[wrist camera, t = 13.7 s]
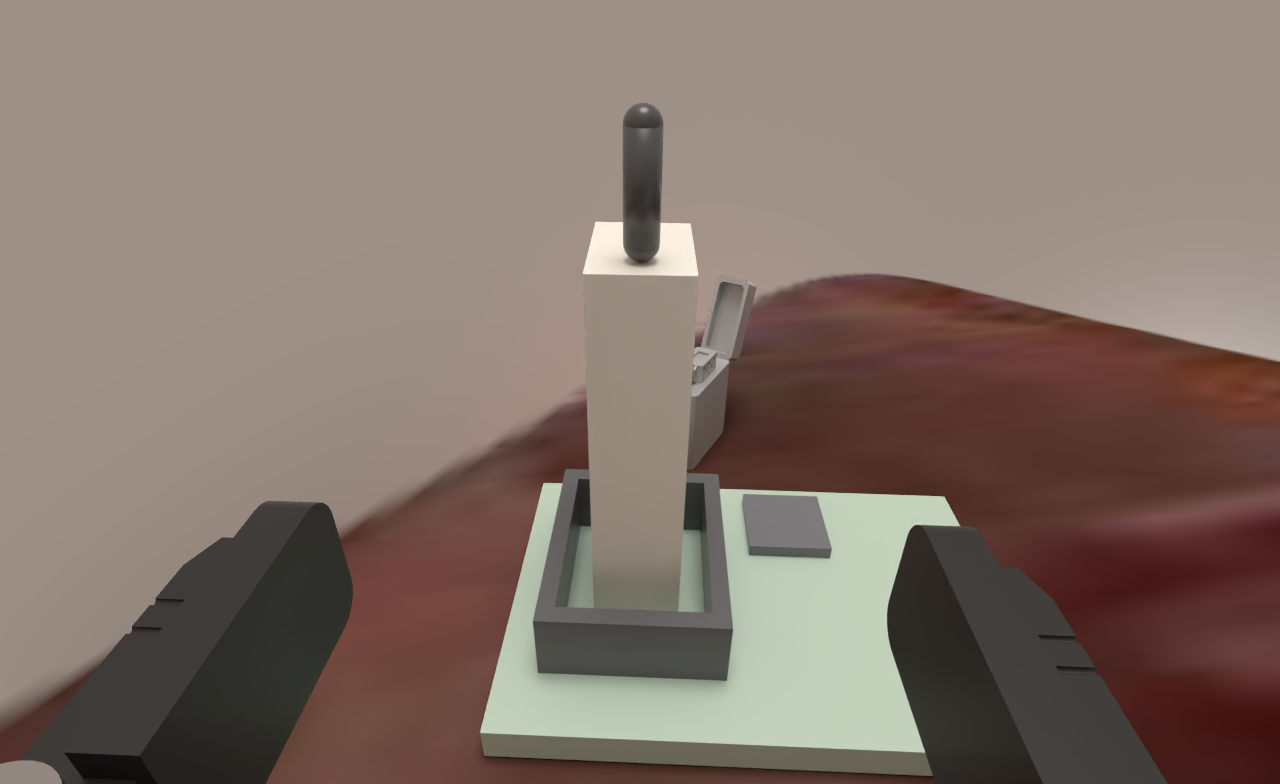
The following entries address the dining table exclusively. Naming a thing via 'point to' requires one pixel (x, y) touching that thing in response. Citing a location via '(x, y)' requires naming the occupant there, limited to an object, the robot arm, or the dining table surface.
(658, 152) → the cream rectangular pillar
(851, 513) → the board
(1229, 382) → the dining table surface
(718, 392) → the lighter
